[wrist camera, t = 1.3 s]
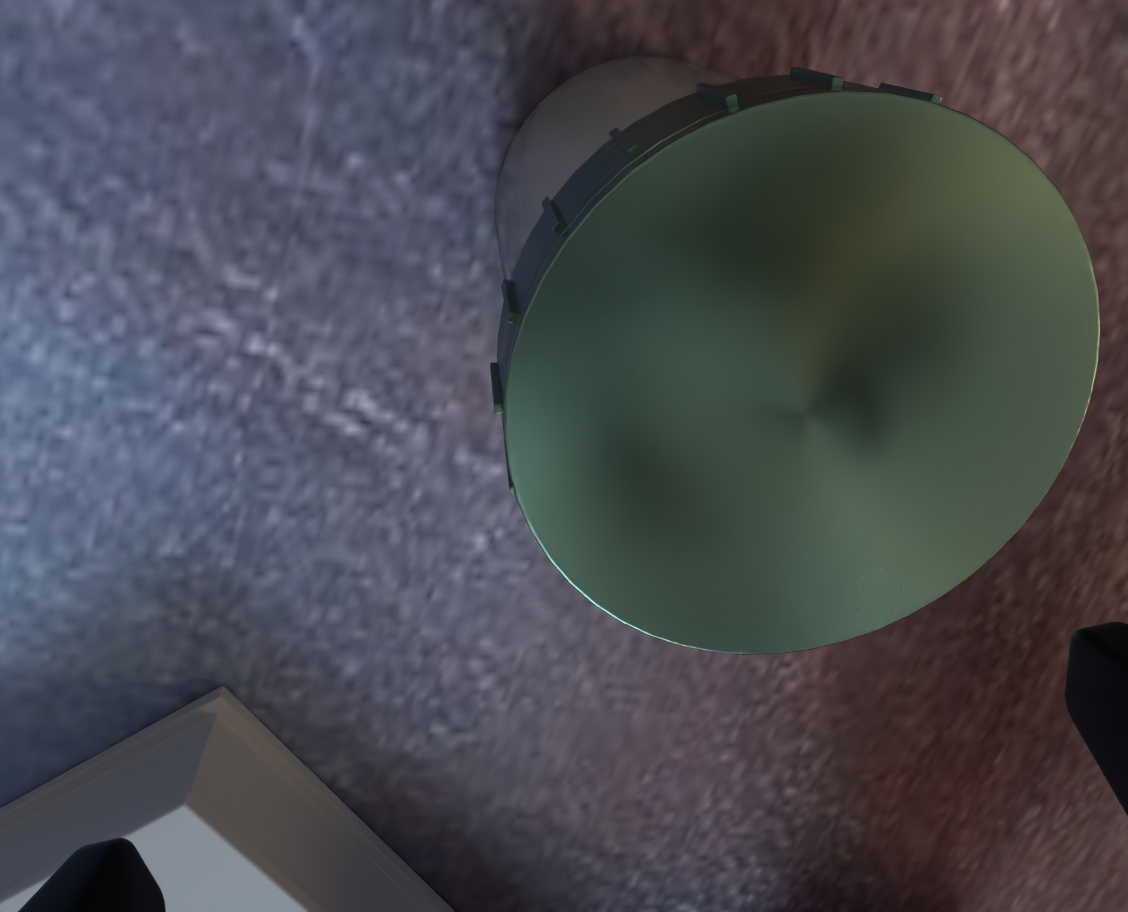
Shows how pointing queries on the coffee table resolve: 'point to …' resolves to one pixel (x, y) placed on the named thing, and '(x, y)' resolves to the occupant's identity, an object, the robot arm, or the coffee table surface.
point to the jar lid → (792, 361)
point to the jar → (581, 134)
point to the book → (210, 823)
